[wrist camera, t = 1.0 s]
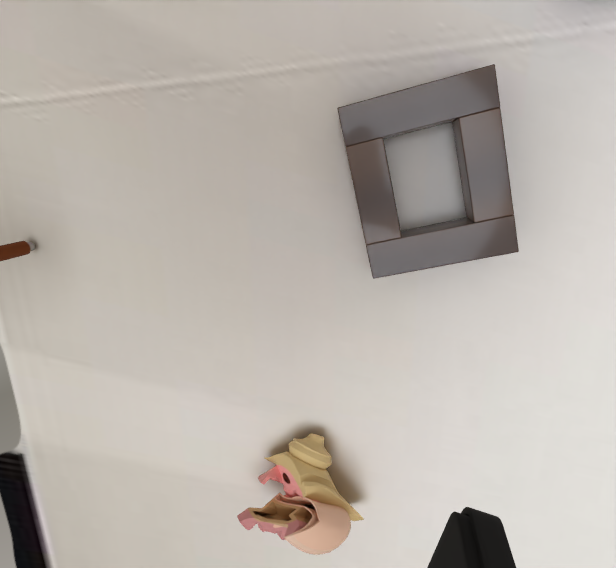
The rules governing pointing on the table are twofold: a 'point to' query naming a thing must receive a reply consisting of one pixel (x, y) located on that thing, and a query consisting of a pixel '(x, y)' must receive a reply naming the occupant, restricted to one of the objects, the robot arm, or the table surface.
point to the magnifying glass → (15, 250)
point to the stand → (472, 164)
